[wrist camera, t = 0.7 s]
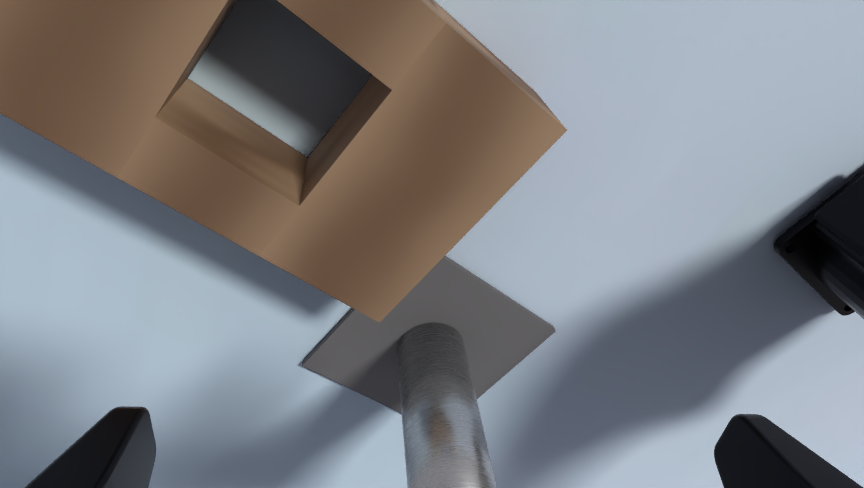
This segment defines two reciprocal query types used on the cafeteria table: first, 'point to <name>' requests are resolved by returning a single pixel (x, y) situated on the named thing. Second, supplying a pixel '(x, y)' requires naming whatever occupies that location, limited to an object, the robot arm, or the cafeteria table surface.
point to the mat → (430, 302)
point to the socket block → (271, 157)
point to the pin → (440, 411)
